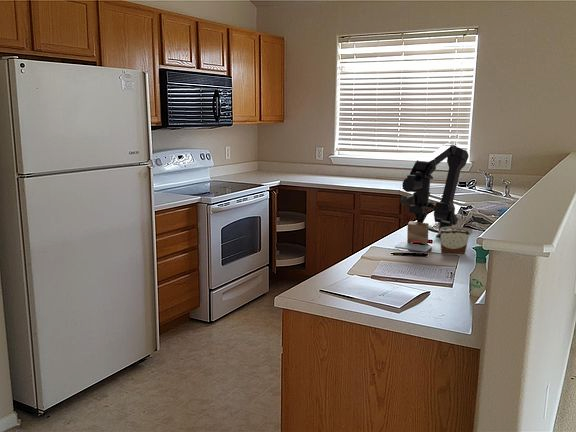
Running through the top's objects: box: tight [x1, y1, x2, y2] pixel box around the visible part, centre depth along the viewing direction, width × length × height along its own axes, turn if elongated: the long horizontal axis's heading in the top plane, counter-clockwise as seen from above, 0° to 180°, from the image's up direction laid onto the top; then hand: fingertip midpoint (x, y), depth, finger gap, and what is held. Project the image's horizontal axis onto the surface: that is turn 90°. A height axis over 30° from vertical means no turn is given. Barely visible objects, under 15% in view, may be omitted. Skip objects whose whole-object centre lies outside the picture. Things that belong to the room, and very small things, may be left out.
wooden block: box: [406, 220, 430, 245], centre depth 225 cm, size 3×8×9 cm, turn 62°
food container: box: [439, 226, 471, 256], centre depth 213 cm, size 12×6×10 cm, turn 89°
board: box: [394, 241, 433, 253], centre depth 221 cm, size 9×13×1 cm
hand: (419, 226), depth 226 cm, fingers closed
